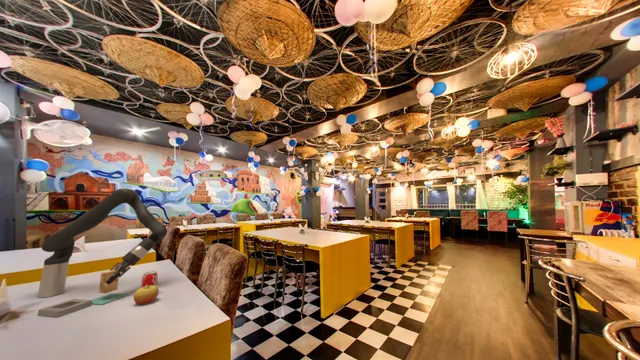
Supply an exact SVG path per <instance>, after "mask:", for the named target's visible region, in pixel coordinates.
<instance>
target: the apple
mask: <svg viewBox="0 0 640 360" xmlns="http://www.w3.org/2000/svg"><path fill="white" fill-rule="evenodd" d="M159 292H160V291H159V288H158V285H157V286H145V287H142V288H141V287H139V288H138V289H137V290H136V291H135V292H134V295H133V301H134V302H135V304H137V305H147V304H150V303H151V302H154V300H156V299H157V297H158V296H159Z"/></svg>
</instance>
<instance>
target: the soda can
mask: <svg viewBox="0 0 640 360" xmlns="http://www.w3.org/2000/svg"><path fill="white" fill-rule="evenodd" d="M158 275H159V274H158V271H157V270H152V271H146V272H144V273H143V275H142V277H141V282H140V288H142V287H145V286H157V287H158V279H159V278H158Z"/></svg>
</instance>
